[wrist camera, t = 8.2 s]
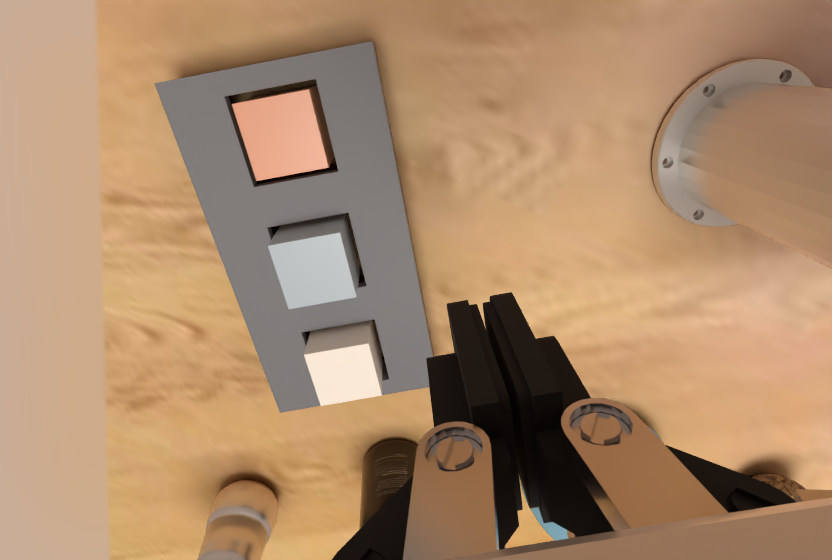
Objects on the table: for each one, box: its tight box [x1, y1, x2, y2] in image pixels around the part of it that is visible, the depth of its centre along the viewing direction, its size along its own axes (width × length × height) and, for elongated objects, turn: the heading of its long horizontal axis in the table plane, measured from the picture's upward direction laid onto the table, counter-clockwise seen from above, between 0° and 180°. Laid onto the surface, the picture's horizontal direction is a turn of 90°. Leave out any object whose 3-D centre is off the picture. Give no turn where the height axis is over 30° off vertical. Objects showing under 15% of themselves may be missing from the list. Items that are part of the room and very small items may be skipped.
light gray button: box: [268, 213, 360, 309], centre depth 35 cm, size 5×5×4 cm
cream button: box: [304, 320, 383, 406], centre depth 39 cm, size 5×5×4 cm
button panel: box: [155, 41, 434, 413], centre depth 38 cm, size 14×27×4 cm, turn 10°
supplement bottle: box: [360, 440, 418, 529], centre depth 45 cm, size 7×7×12 cm
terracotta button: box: [232, 86, 335, 181], centre depth 33 cm, size 5×5×4 cm
